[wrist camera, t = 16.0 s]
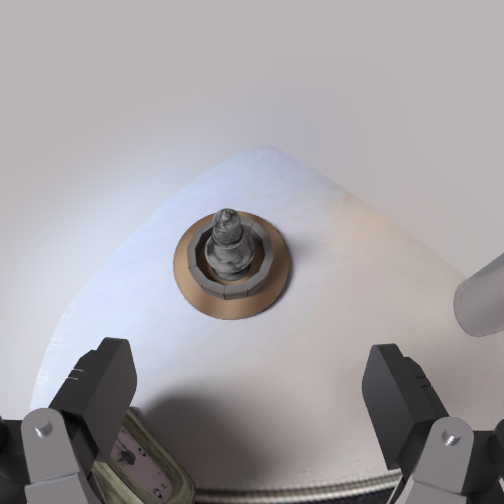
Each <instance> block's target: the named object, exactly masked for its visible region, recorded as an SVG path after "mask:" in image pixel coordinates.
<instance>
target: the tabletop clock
mask: <svg viewBox="0 0 504 504" xmlns="http://www.w3.org/2000/svg"><path fill="white" fill-rule="evenodd" d="M92 470H93V472H94V474H95V476H96V479H97V481H98V483H99V486H100V488H101V490H102V492H103V494H104V497H105V499H106V501H107V503H108V504H194V502H195V499H196V486H195V483H194V482H193V480H192V479H191V478H190V476H189V475H188V474H187V473H186V472H185V471H184V469H183V468H182V467H181V466H180V465H179V464H178V463H177V462H176V460H175V459H174V458H173V457H172V456H171V455H170V454H169V453H168V451H167V450H166V449H165V448H164V447H163V446H162V445H161V443H160V442H159V441H158V440H157V439H156V438H155V437H154V436H153V434H152V433H151V432H150V431H149V430H148V429H147V428H146V427H145V425H144V424H143V423H142V422H141V421H140V420H139V418H138V417H137V416H136V415H135V414H134V413H133V412H132V410H131V409H130V408H128V411H127V413H126V416H125V418H124V421H123V423H122V426H121V429H120V431H119V434H118V436H117V439H116V441H115V444H114V447H113V449H112V452H111V455H110V457H109V460H108V463H102V462H98V461H95V462H94V464H93V467H92Z"/></svg>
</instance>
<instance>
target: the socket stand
mask: <svg viewBox="0 0 504 504" xmlns="http://www.w3.org/2000/svg"><path fill="white" fill-rule="evenodd" d="M236 212H237V213H238V214H239V216H240V218H241V225H242V227H243V229H244V231H245V233H246V234H248V235H249V237H250V238H251V239H252V241H253V244H254V249H255V252H254V257H253V259H252V264H251V268H250V270H249V272H248V273H247V274H246V276H244V277H243V278H241V279H239V280H236V281H225V280H222V279H220V278H219V277H217V276H216V275H215V274H214V272H213V271H212V268H211V265H210V264H209V263H208V261H207V259H206V256H205V247H206V243H207V241H208V240H209V238H210V237H211V233H212V230H213V222H212V221H213V217H214V215H215V214H216V213H214V214H211V215H208V216H206V217H204V218H202V219H200V220H199V221H197V222H196V223H195V224H193V225H192V226H191V227H190V228H189V229H188V230H187V231H186V232H185V233H184V235H183V236H182V238H181V239H180V241H179V243H178V245H177V247H176V250H175V254H174V260H173V270H174V276H175V280H176V283H177V285H178V287H179V289H180V291H181V293H182V294H183V296H184V297H185V299H186V300H187V301H188V302H189V303H190V304H191V305H192V306H193V307H194V308H196V309H197V310H199V311H200V312H202V313H204V314H206V315H208V316H211V317H214V318H218V319H223V320H237V319H243V318H248V317H250V316H253V315H256V314H258V313H260V312H261V311H263V310H264V309H266V308H267V307H269V306H270V305H271V304H272V303H273V302H274V301H275V300H276V298H277V297H278V296H279V294H280V293H281V291H282V290H283V287H284V285H285V282H286V279H287V276H288V271H289V256H288V251H287V247H286V245H285V242H284V240H283V238H282V237H281V235H280V234H279V233H278V231H277V230H276V229H275V228H274V227H273V226H272V225H271V224H270V223H268V222H267V221H265V220H264V219H262V218H260V217H258V216H256V215H253V214H250V213H247V212H241V211H236Z"/></svg>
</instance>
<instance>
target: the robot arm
mask: <svg viewBox="0 0 504 504" xmlns="http://www.w3.org/2000/svg"><path fill="white" fill-rule="evenodd" d="M454 309H455V314H456V317H457V320H458V322H459V324H460V325H461V327H462V328H463V329H464V330H465V331H466V332H467V333H468V334H470V335H472V336H475V337H481V336H485V335H487V334H490V333H496V332H498V331H500V330H503V329H504V253H503V254H502V255H500V256H499V257H497V258H496V259H495V260H493V261H492V262H491V263H489V264H488V265H487V266H485V267H484V268H483V269H481V270H480V271H478V272H477V273H475V274H474V275H473V276H471V277H470V278H468V279H467V280H465V281H464V282H463V283H462V284H460V286H459V287H458V288H457V291H456V293H455V298H454ZM136 387H137V374H136V370H135V366H134V362H133V357H132V353H131V348H130V344H129V342H128V340H127V339H119V338H110V337H106V338H104V339H103V341H102V342H101V344H100V345H99V347H98V348H97V350H90V351H89V352H88V353H86V354H85V355H84V356H82V357H81V358H80V359H79V361H78V362H77V364H76V365H75V367H74V370H72V371H71V373H70V374H69V376H68V378H67V379H66V380H65V382H64V383H63V385H62V386H61V388H60V389H59V391H58V393H57V394H56V396H55V397H54V399H53V400H52V402H51V404H50V405H49V407H48V408H40V409H36V410H34V411H32V412H30V413H29V414H28V415H26V417H25V418H24V419H23V420H3V419H2V417H1V416H0V504H27V502H28V504H108V503H107V501H106V499H105V497H104V494H103V492H102V490H101V488H100V486H99V483H98V481H97V479H96V476H95V474H94V472H93V470H92V467H93V464H94V462H95V461H98V462H102V463H108V460H109V457H110V455H111V452H112V449H113V447H114V444H115V441H116V439H117V436H118V434H119V431H120V429H121V426H122V423H123V421H124V418H125V416H126V413H127V411H128V408H129V406H130V403H131V401H132V399H133V396H134V394H135V391H136ZM362 394H363V398H364V401H365V404H366V407H367V409H368V412H369V415H370V418H371V421H372V424H373V427H374V430H375V432H376V435H377V438H378V441H379V444H380V447H381V450H382V453H383V456H384V459H385V462H386V466H387V469H388V470H393V469H398V468H400V469H401V471H402V476H401V477H400V479H399V481H398V483H397V485H396V487H395V489H394V491H393V493H392V495H391V497H390V499H389V501H388V503H387V504H504V492H503V489H502V487H501V485H500V482H499V480H500V479H501V478H503V480H504V419H503V420H502V421H500V422H499V423H498V425H497V427H496V428H495V429H494V431H472V429H471V427H470V426H469V425H468V424H467V423H466V422H465V421H463V420H461V419H459V418H455V417H450V416H449V415H448V413H447V411H446V409H445V407H444V406H443V404H442V402H441V401H440V399H439V397H438V395H437V394H436V392H435V390H434V389H433V387H431V383H430V382H429V380H428V378H426V375H425V373H424V372H423V370H422V369H421V367H420V365H418V364H417V363H416V362H415V361H413V360H412V359H411V358H410V357H403V355H402V353H401V352H400V350H399V348H398V347H397V345H396V344H380V345H373V346H372V348H371V350H370V354H369V358H368V362H367V365H366V369H365V373H364V376H363V380H362Z"/></svg>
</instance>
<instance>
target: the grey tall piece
mask: <svg viewBox="0 0 504 504" xmlns="http://www.w3.org/2000/svg"><path fill="white" fill-rule="evenodd" d="M212 222H213V230H212V233H211V237H210V238H209V240H208V241H207V243H206V247H205V256H206V259H207V261H208V263H209V264H210V265H211V268H212V271H213V272H214V274H215V275H216V276H217V277H219V278H220V279H222V280H225V281H236V280H239V279H241V278H243V277H244V276H246V274H247V273H248V272H249V270H250V268H251V264H252V259H253V257H254V252H255V249H254V244H253V241H252V239H251V238H250V237H249V235H248V234H246V233H245V231H244V229H243V227H242V225H241V218H240V216H239V214H238V213H237V212H236V211H235V210H233V209H228V208H227V209H222V210H219V211H218V212H217V213H216V214H215V215H214V217H213V221H212Z"/></svg>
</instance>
